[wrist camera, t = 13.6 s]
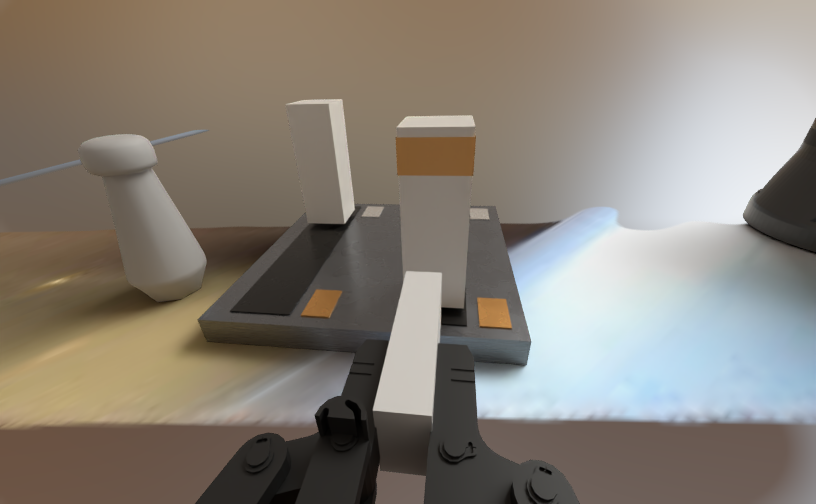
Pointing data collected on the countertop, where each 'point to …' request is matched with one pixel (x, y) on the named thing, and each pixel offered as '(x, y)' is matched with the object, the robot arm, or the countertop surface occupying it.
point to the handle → (436, 198)
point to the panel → (367, 290)
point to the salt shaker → (145, 218)
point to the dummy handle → (322, 159)
